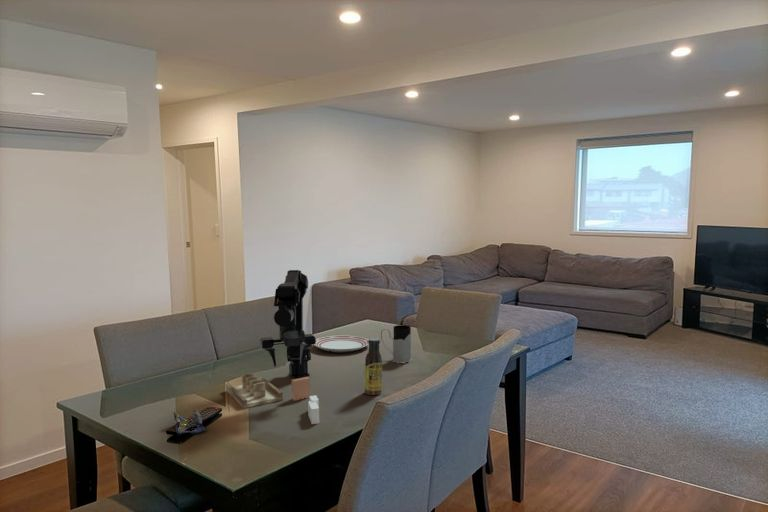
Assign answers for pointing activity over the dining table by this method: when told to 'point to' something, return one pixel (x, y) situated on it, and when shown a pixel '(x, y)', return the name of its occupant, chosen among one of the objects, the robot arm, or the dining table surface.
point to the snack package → (196, 422)
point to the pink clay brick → (300, 388)
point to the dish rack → (254, 391)
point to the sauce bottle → (373, 368)
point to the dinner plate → (341, 343)
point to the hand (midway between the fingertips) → (288, 365)
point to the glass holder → (401, 343)
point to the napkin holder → (313, 409)
